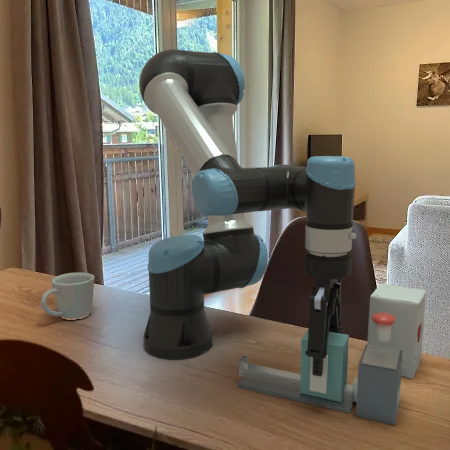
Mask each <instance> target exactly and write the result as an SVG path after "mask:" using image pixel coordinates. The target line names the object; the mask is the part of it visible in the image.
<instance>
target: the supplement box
mask: <svg viewBox="0 0 450 450" xmlns="http://www.w3.org/2000/svg"><path fill="white" fill-rule="evenodd" d="M369 296H370V297H369V311H368V312H369V313H368V326H367V327H368V328H367V329H368V331H367V344H366V345H368V344H369V345H375V346H381V347H387V348H393V349H399V350H401V351H403V355H402V370H401V377H403V378H408V379H411V380H412V379H414V377H415V375H416V373H417V371H418V368H419V366H420V364H421V361H422V351H423V338H424V337H423V336H424V326H425V325H424V324H425V311H426V310H425V309H426V301H427V299H426V298H427V297H426V296H427V290H426V289H420V288H414V287H413V288H412V287H405V286H399V285H394V284H389V283H387V284H385V283H381V284H380V285H379V286H378V287H377V288H375V289H374V291H373V292H372V293H371V295H369ZM379 312H382V313H388V314H391V315H393V316H394V317H395V323H394V324H392V325H391V335H390V341H388V342H381V341H378V340H376V339H375V323H374V322H373V321H372V316H373V314H374V313H379Z"/></svg>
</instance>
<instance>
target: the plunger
mask: <svg viewBox="0 0 450 450" xmlns="http://www.w3.org/2000/svg"><path fill="white" fill-rule="evenodd" d="M372 321H373V322H374V323H375V339H376V340H378V341H381V342H388V341H390V335H391V325H392V324H394V323H395V317H394V316H393V315H391V314H388V313H382V312H379V313H374V314H373V316H372Z"/></svg>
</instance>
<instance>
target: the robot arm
mask: <svg viewBox="0 0 450 450" xmlns="http://www.w3.org/2000/svg"><path fill="white" fill-rule="evenodd" d="M138 85H139V86H138V88H139V93H140V97H141V100H143V102H144V104H145V106H146V108H147V109H148V111H150V112H151V113H152V114H155V115H156V116H158V118H159V119H160V121H161V123H162V124H163V126H164V128H165V130H166V131H167V133H168V134H169V135H170V137H171V139H172V141H173V142H174V144H175V146H176V147H177V149H178V150H179V152H180V154H181V155H182V157H183V158H184V160H185V162H186V163H187V165H188V167H189V169H190V170H191V172H192V174H193V176H194V177H193V180H192V185H191V193H192V198H193V201H194V202H193V204H194V206H195V208H196V209H197V211H198V212H199V213H200V214H202V215H203V216H206V217H207V226H206V228H205V229H204V231H203V232H202V236H199V235H195V234H186V235H183V234H181V235H174V236H170V237H166V238H164V239H160V240H158V241H156V242H155V243H154V244H152V246H150V248H149V251H148V264H147V271H148V283H149V284H148V286H149V307H150V308H149V310H150V312H149V316H148V319H147V322H146V324H145V325H146V327H145V330H144V333H143V349H144V351H145V352H146V353H148V354H149V355H151V356H153V357H156V358H159V359H167V360H183V359H188V358H189V359H190V358H193V357H194V358H195V357H197V356H200V355H202V354H204V353H206V352H207V351H209V350H210V349H211V348H212V347H213V344H214V338H213V337H214V335H213V329H212V327H211V325H210V321H209V319H208V315H207V313H206V310H205V295H207V294H214V293H218V292H224V291H229V290H236V289H244V288H245V287H248V286H252V285H256V284H257V283H259V282H260V281H261V280H262V279H263V277H264V275H265V273H266V271H267V267H268V257H269V256H268V248H267V246H266V243H265V242H264V239H263V238H262V237H261V236H260V235H258V234H256V233H255V229H254V225H252V224H251V223H249V222H248V220H246V214H245V213H254V212H257V213H258V212H269V211H276V210H286V209H288V210H289V209H290V210H297V211H302V212H305V216H306V217H305V231H304V232H305V233H304V235H305V236H304V247H305V250H306V251H305V253H304V272H305V274H306V275H307V276H309V277H312V278H314V279H315V280H316V282H315V285H313V287H312V291H311V292H312V293H311V294H310V296H309V297H308V299H309V318H308V320H309V321H308V329H309V333H308V348H307V351H305V354H306V355H307V356H309V357H310V390H311V391H315V392H320V393H324V394H326V392H327V373H328V355H327V353H326V352H327V343H328V335H329V332H334V333H340V334H344V333H343V332H344V328H342V327H341V325H342V281H343V280H344V279H347V278H348V277H349V276H350V275H351V273H352V259H353V258H352V257H353V255H352V253H351V252H350V251H351V250H352V246H353V245H352V244H353V240H355V239H356V238H357V234H356V233H355V232H352V231H353V226H354V222H353V221H354V207H355V205H354V204H355V191H356V183H357V181H356V175H355V174H356V173H355V172H356V171H355V170H356V169H355V167H356V166H355V161H354V160H353V158H351V157H350V156H343V155H342V156H341V155H340V156H339V155H337V156H336V155H335V156H334V155H322V156H320V155H319V156H318V155H317V156H316V155H315V156H311V157H309V158H308V159H307V163H306V167H305V166H296V165H295V166H294V165H291V164H277V165H276V164H275V165H271V166H264V167H242V166H241V165H240V164H239V160H238V152H237V146H236V144H237V143H236V138H235V137H236V136H235V129H234V128H235V127H234V123H233V117H234V115H235V114H236V112H237V111H238V105H239V104H240V103H241V102H242V100H243V98H244V95H245V93H244V90H245V87H246V80H245V75H244V71H243V69H242V66H241V65H240V63H239V61H238V60H237V59H236V58H234V57H233V56H231V55H229V54H225V53H220V52H216V51H215V52H214V51H212V52H207V51H195V50H185V49H175V48H174V49H173V48H171V49H164V50H161V51H159V52H157V53H155V54H153V55H152V56H151V57H150V58H149V59H148V60H147V61H146V63H145V64H144V66H143V68H142V69H141V72H140V76H139V82H138ZM202 237H203V238H202Z"/></svg>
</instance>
